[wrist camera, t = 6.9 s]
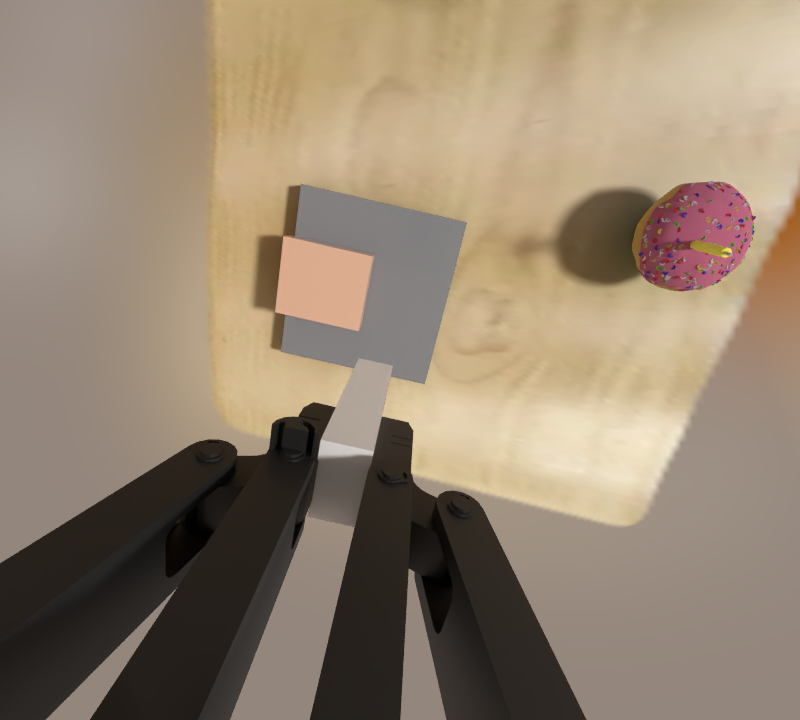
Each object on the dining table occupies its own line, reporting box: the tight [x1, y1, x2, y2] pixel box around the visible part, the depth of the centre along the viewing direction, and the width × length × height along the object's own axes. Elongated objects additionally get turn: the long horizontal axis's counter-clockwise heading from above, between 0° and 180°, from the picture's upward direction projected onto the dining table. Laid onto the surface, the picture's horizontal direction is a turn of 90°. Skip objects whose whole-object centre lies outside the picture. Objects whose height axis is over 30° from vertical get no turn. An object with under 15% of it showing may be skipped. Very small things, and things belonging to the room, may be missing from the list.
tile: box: [275, 235, 375, 331], centre depth 37 cm, size 7×2×8 cm
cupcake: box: [632, 181, 756, 291], centre depth 31 cm, size 9×8×12 cm
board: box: [281, 184, 467, 384], centre depth 39 cm, size 16×15×2 cm
